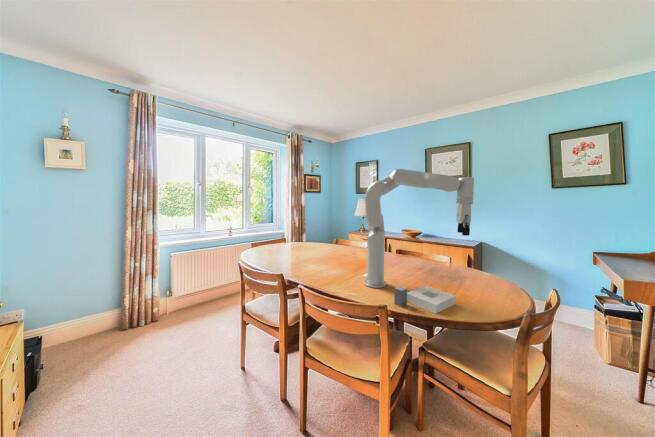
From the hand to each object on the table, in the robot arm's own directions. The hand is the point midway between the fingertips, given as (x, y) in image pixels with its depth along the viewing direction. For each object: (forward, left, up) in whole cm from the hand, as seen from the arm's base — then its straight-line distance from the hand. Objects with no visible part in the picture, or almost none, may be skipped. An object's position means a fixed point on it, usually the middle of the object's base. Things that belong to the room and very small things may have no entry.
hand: (463, 233), depth 130 cm
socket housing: (-1, -26, -31) cm, 40 cm away
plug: (-8, -39, -31) cm, 51 cm away
